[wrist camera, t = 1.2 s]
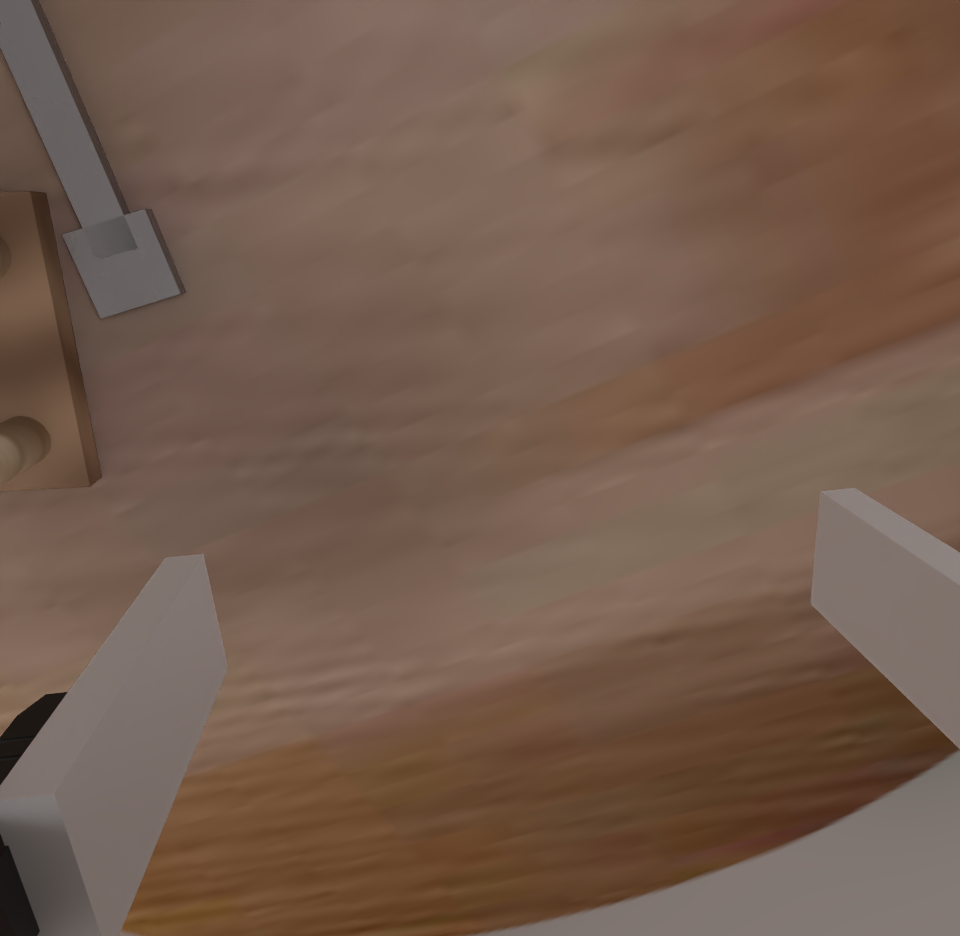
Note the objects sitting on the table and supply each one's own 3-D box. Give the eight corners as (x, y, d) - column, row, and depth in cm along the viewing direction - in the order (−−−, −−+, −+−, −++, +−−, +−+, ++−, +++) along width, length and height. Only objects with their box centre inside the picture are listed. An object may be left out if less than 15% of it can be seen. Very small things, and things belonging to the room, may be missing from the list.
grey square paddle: (-41, -12, 31) (-57, -21, 30) (48, -39, 31) (35, -50, 30) (110, 315, 36) (100, 318, 35) (187, 291, 36) (180, 293, 35)
